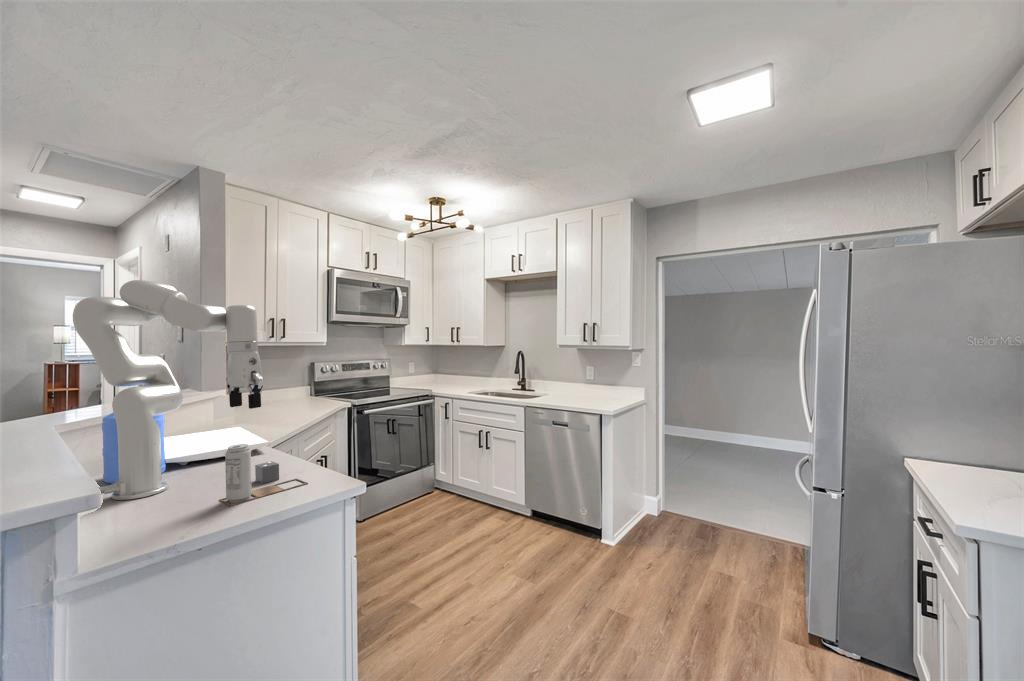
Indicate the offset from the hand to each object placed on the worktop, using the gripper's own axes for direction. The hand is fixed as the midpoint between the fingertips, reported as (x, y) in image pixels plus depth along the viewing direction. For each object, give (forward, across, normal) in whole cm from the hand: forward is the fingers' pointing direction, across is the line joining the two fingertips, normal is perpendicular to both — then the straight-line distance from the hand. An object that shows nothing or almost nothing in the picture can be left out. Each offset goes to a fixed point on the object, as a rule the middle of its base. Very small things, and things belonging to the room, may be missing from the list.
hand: (245, 407), depth 122 cm
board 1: (+25, +67, -21) cm, 75 cm away
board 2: (+26, -2, -4) cm, 26 cm away
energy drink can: (+26, -1, +3) cm, 26 cm away
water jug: (+24, +53, +8) cm, 59 cm away
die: (+25, +8, -10) cm, 29 cm away
